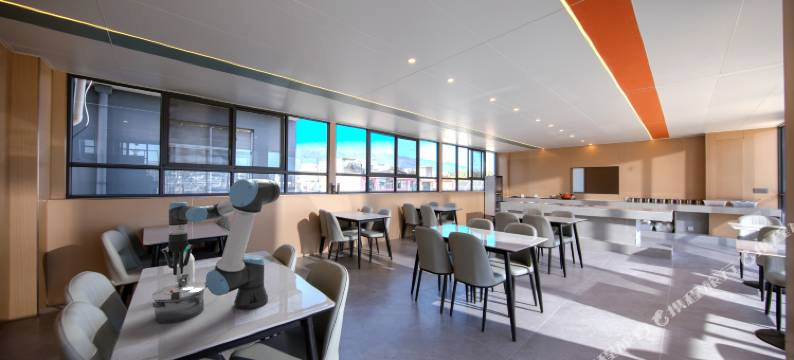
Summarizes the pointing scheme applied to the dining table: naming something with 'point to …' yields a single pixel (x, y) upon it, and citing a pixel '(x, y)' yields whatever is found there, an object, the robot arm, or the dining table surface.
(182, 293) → the lid
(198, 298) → the pot
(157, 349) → the dining table surface
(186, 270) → the water bottle
